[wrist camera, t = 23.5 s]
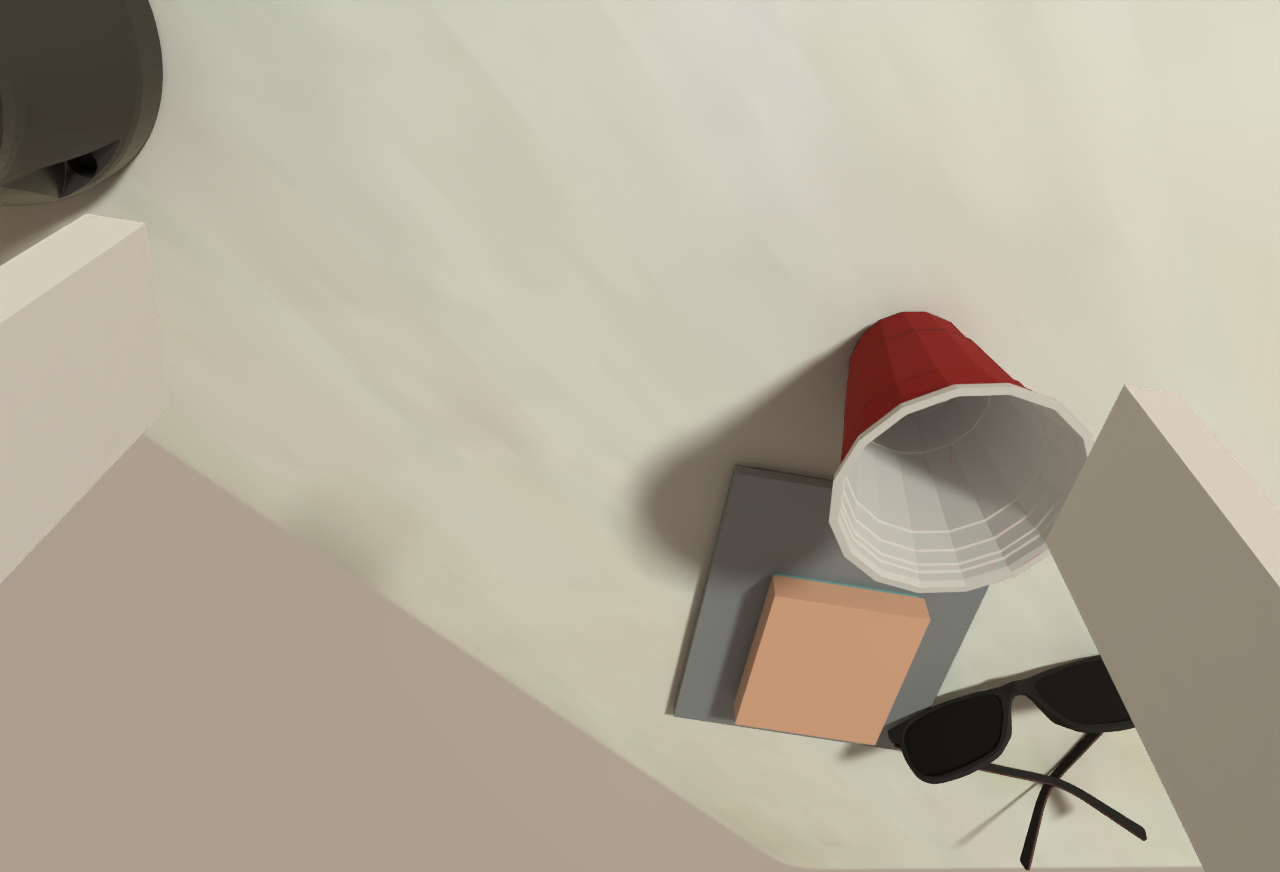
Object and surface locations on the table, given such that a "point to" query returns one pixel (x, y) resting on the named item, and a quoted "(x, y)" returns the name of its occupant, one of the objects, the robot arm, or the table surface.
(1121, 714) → the sunglasses
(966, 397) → the plastic cup
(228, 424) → the table surface
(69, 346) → the robot arm
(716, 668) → the mat
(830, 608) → the tile
